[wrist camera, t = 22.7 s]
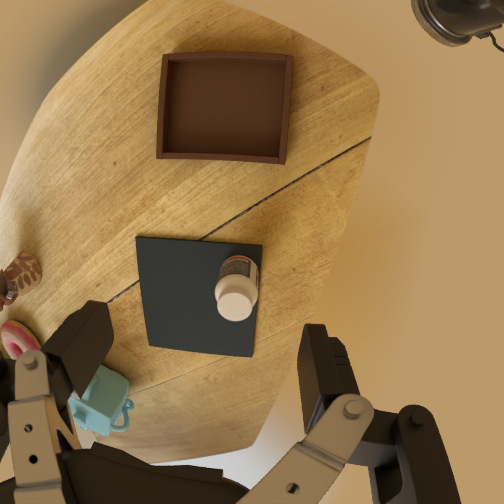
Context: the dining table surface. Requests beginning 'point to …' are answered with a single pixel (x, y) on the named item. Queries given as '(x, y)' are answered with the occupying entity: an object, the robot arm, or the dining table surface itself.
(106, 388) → the teapot
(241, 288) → the pill bottle
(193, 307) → the mat
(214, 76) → the tray
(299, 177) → the dining table surface
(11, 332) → the donut
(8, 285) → the figurine
